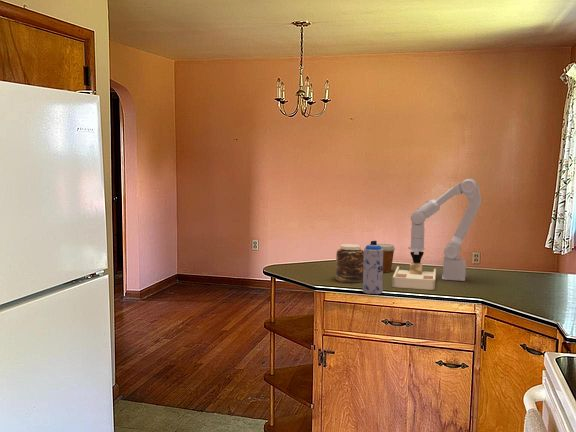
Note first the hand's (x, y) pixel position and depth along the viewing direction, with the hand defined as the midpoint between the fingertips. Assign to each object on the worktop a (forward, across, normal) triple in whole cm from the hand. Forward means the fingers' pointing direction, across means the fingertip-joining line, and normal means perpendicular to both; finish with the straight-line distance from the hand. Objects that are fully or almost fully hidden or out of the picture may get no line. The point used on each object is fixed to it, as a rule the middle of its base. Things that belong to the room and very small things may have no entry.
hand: (416, 267), depth 237 cm
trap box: (+3, +14, 0) cm, 14 cm away
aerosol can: (+4, +36, -15) cm, 39 cm away
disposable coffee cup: (+4, -6, -15) cm, 17 cm away
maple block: (+1, +6, 0) cm, 7 cm away
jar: (+4, +18, -27) cm, 32 cm away
